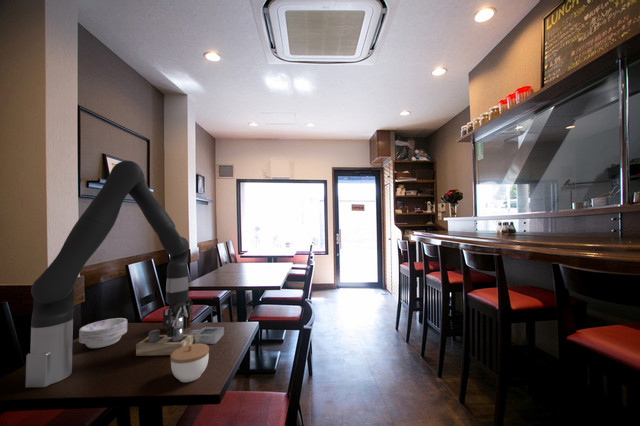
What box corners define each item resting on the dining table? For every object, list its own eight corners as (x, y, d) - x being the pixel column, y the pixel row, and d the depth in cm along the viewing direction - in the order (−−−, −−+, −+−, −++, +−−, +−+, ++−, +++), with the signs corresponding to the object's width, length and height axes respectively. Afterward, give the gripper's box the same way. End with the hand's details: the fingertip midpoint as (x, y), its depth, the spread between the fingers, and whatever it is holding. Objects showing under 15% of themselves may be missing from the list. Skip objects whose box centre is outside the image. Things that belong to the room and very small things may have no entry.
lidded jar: (209, 364, 87) (209, 335, 88) (208, 381, 77) (208, 349, 78) (173, 371, 83) (173, 341, 84) (167, 391, 73) (167, 356, 74)
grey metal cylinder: (179, 352, 97) (179, 319, 97) (168, 352, 97) (169, 319, 97) (185, 347, 101) (185, 315, 101) (175, 347, 101) (175, 316, 101)
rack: (181, 354, 94) (181, 335, 95) (136, 355, 95) (136, 336, 95) (193, 344, 102) (193, 326, 103) (150, 345, 103) (150, 327, 103)
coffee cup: (173, 327, 122) (173, 299, 123) (193, 323, 125) (193, 296, 126) (171, 333, 114) (171, 303, 115) (192, 330, 118) (192, 301, 118)
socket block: (215, 343, 103) (215, 335, 103) (192, 344, 103) (192, 336, 103) (223, 334, 112) (223, 326, 112) (203, 334, 112) (203, 327, 112)
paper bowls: (99, 336, 114) (100, 317, 114) (135, 334, 114) (135, 316, 115) (67, 353, 98) (67, 331, 99) (108, 351, 99) (109, 330, 99)
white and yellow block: (195, 341, 106) (195, 333, 106) (175, 341, 106) (175, 333, 106) (199, 336, 110) (199, 329, 110) (181, 337, 110) (181, 329, 110)
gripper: (178, 285, 107) (178, 325, 106) (155, 294, 93) (155, 340, 92) (196, 284, 107) (196, 324, 106) (176, 293, 93) (176, 340, 92)
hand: (177, 332), depth 99 cm, fingers open, 8 cm apart
